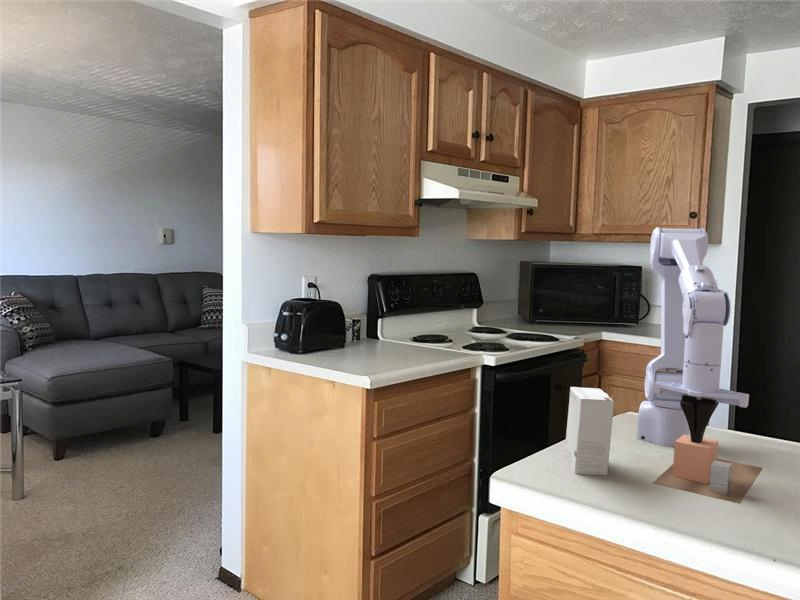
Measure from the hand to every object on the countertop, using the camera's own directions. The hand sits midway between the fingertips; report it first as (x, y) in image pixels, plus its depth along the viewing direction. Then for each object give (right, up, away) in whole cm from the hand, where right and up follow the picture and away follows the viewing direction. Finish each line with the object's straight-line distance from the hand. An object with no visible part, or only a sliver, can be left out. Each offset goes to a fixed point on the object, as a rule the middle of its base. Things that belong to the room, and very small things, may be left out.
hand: (696, 441), depth 114 cm
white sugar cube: (+1, -7, -6) cm, 9 cm away
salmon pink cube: (0, -6, +1) cm, 6 cm away
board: (+3, -7, +1) cm, 8 cm away
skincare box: (-18, -7, +4) cm, 19 cm away
